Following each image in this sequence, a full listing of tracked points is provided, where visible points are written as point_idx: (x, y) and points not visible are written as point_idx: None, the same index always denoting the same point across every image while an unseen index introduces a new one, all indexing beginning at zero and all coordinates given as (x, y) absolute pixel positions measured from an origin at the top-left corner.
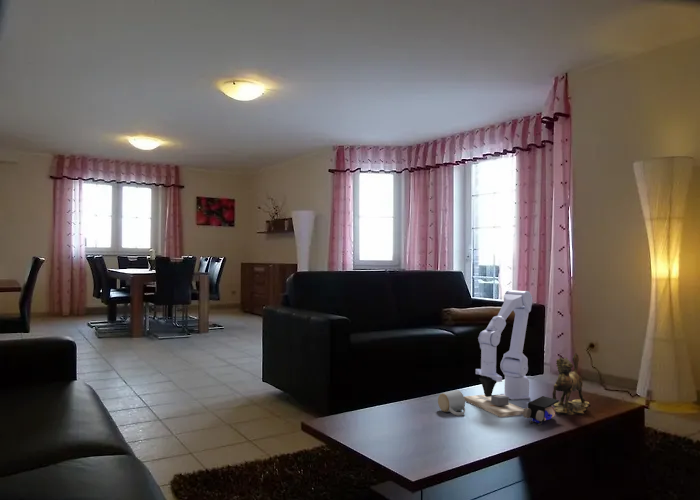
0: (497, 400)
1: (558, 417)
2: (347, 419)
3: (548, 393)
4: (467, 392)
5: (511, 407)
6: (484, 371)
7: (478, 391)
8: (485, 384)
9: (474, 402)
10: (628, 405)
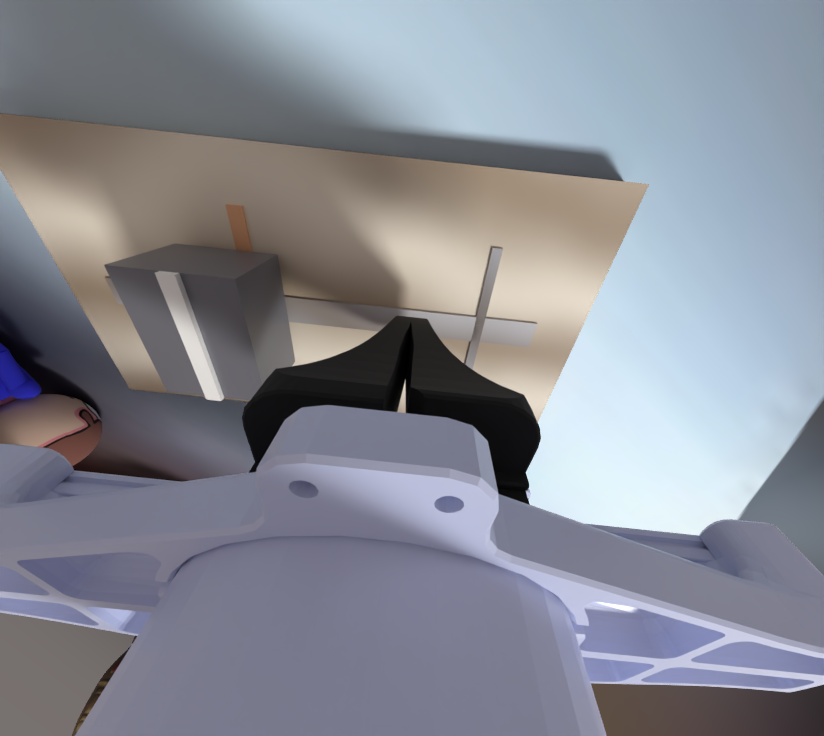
0: (136, 257)
1: (114, 454)
2: None
3: None
4: (732, 387)
5: None
6: (216, 656)
7: (674, 454)
8: (360, 362)
9: (435, 161)
10: None
